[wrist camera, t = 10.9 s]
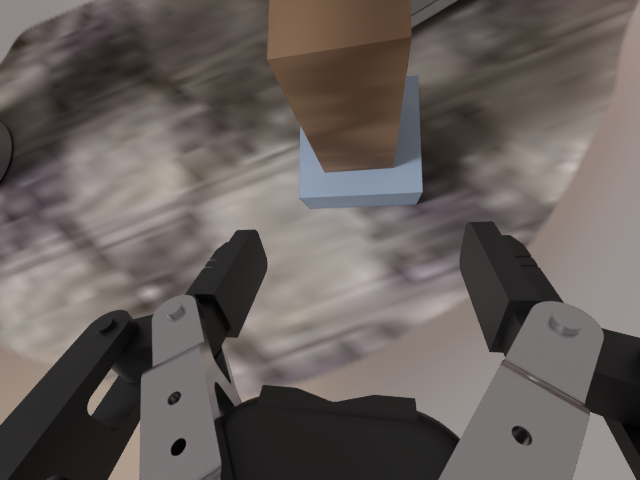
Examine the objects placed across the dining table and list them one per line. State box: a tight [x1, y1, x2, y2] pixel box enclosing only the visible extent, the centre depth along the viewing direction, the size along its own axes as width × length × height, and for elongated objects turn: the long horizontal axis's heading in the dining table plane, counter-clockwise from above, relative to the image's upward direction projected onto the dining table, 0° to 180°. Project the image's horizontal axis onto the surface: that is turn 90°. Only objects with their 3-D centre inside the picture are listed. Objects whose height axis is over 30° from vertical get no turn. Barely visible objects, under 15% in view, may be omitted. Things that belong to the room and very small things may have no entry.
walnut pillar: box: [267, 0, 412, 173], centre depth 14 cm, size 4×4×10 cm
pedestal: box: [299, 75, 423, 209], centre depth 20 cm, size 8×8×3 cm
